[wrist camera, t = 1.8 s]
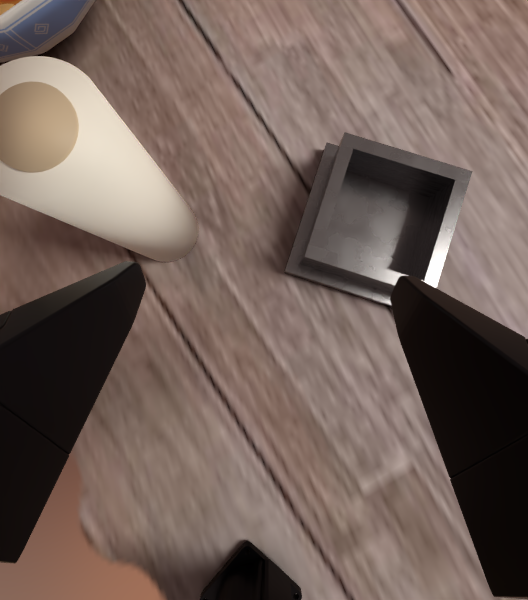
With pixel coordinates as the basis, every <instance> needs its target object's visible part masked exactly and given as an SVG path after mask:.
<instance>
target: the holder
mask: <svg viewBox="0 0 528 600" xmlns="http://www.w3.org/2000/svg"><path fill="white" fill-rule="evenodd" d="M471 174H472V171H469V170H466V169H463V168H460V167H456V166H453V165H450V164H447V163H443V162H440V161H437V160H433V159H430V158H427V157H424V156H420V155H417V154H414V153H411V152H407V151H404V150H401V149H398V148H394V147H391V146H388V145H384V144H381V143H378V142H375V141H371V140H368V139H365V138H362V137H358V136H355V135H352V134H349V133H344V135H343V138H342V140H341V142H340V144H339V146H337V145H334V144H330V143H326V146H325V149H324V152H323V155H322V158H321V161H320V164H319V167H318V170H317V173H316V177H315V180H314V183H313V186H312V189H311V192H310V195H309V198H308V201H307V204H306V207H305V210H304V213H303V217H302V220H301V223H300V226H299V229H298V232H297V235H296V238H295V241H294V244H293V247H292V250H291V253H290V257H289V260H288V263H287V266H286V269H285V272H284V273H287V274H290V275H293V276H296V277H299V278H302V279H306V280H309V281H312V282H315V283H318V284H321V285H324V286H327V287H330V288H333V289H337V290H340V291H343V292H346V293H349V294H352V295H355V296H358V297H361V298H365V299H368V300H371V301H374V302H377V303H380V304H383V305H386V306H389V307H392V306H391V302H390V296H391V293H392V291H393V289H394V287H395V284H396V282H397V280H398V278H399V277H400V276H415V277H416V278H418V279H420V280H422V281H424V282H426V283H427V284H429V285H431V286H433V287H435V288H436V287H437V284H438V281H439V278H440V274H441V271H442V268H443V265H444V261H445V258H446V255H447V252H448V248H449V245H450V242H451V239H452V235H453V232H454V229H455V226H456V222H457V219H458V216H459V213H460V209H461V206H462V203H463V200H464V196H465V193H466V190H467V187H468V183H469V180H470V177H471Z"/></svg>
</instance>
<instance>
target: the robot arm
mask: <svg viewBox="0 0 528 600" xmlns="http://www.w3.org/2000/svg"><path fill="white" fill-rule="evenodd" d="M145 288H146V282H145V278H144V275H143V273H142V270H141V267H140V265H139V263H137V262H127V261H126V262H123V263H120V264H118V265H116V266H113V267H111V268H109V269H106V270H104V271H102V272H99V273H97V274H95V275H92V276H90V277H88V278H85V279H83V280H81V281H78V282H76V283H74V284H71V285H69V286H67V287H64V288H62V289H60V290H57V291H55V292H53V293H50V294H48V295H46V296H43V297H41V298H39V299H36V300H34V301H32V302H29V303H27V304H25V305H22V306H20V307H18V308H15V309H13V310H12V311H8V312H6V313H3V314H1V315H0V562H4V563H16V562H17V560H18V559H19V557H20V555H21V553H22V551H23V550H24V548H25V546H26V543H27V541H28V539H29V537H30V535H31V533H32V531H33V529H34V527H35V525H36V523H37V521H38V519H39V517H40V515H41V513H42V510H43V509H44V506H45V504H46V502H47V500H48V498H49V496H50V494H51V492H52V490H53V488H54V486H55V484H56V482H57V480H58V478H59V475H60V474H61V472H62V469H63V467H64V465H65V463H66V461H67V459H68V457H69V454H70V453H71V451H72V448H73V446H74V444H75V442H76V440H77V438H78V436H79V434H80V432H81V430H82V428H83V426H84V424H85V422H86V420H87V418H88V416H89V414H90V411H91V409H92V407H93V405H94V403H95V401H96V399H97V397H98V395H99V393H100V391H101V389H102V387H103V385H104V383H105V381H106V379H107V376H108V374H109V372H110V370H111V368H112V366H113V364H114V362H115V360H116V358H117V356H118V354H119V352H120V350H121V348H122V346H123V344H124V341H125V339H126V337H127V335H128V333H129V331H130V329H131V327H132V325H133V322H134V320H135V317H136V314H137V311H138V308H139V306H140V303H141V300H142V297H143V294H144V291H145ZM390 302H391V306H392V310H393V315H394V319H395V324H396V328H397V332H398V336H399V339H400V342H401V345H402V348H403V351H404V353H405V356H406V359H407V362H408V364H409V367H410V370H411V373H412V375H413V378H414V381H415V384H416V386H417V389H418V392H419V395H420V397H421V400H422V403H423V406H424V408H425V411H426V414H427V417H428V419H429V422H430V425H431V428H432V430H433V433H434V436H435V439H436V442H437V444H438V447H439V450H440V453H441V455H442V458H443V461H444V464H445V466H446V469H447V472H448V475H449V477H450V478H451V479H450V481H451V483H452V486H453V489H454V492H455V494H456V497H457V500H458V503H459V505H460V508H461V511H462V514H463V516H464V519H465V522H466V525H467V527H468V530H469V533H470V536H471V538H472V541H473V544H474V547H475V549H476V552H477V555H478V558H479V560H480V563H481V566H482V569H483V571H484V574H485V577H486V580H487V582H488V585H489V587H490V590H491V592H492V594H493V596H494V597H504V598H518V599H528V339H525V337H524V336H522V335H520V334H518V333H516V332H515V331H513V330H511V329H509V328H507V327H505V326H504V325H502V324H500V323H498V322H496V321H495V320H493V319H491V318H489V317H487V316H485V315H484V314H482V313H480V312H478V311H476V310H475V309H473V308H471V307H469V306H467V305H466V304H464V303H462V302H460V301H458V300H456V299H455V298H453V297H451V296H449V295H447V294H446V293H444V292H442V291H440V290H438V289H436V288H435V287H433V286H431V285H429V284H427V283H426V282H424V281H422V280H420V279H418V278H416V277H415V276H400V277H399V278H398V280H397V282H396V284H395V287H394V289H393V291H392V293H391V296H390ZM246 549H249V551H247V550H246ZM295 593H297V594H295ZM205 598H206V599H205ZM301 599H302V593H301V588H300V587H299V586H298V585H297V584H296V583H295V582H294V581H292V580H291V579H290V577H289V576H288V575H286V574H285V573H284V572H283V571H282V570H281V569H280V568H279V567H278V566H277V565H275V564H274V563H273V562H272V561H271V560H270V559H268V558H267V557H266V556H265V555H264V554H263V553H262V552H261V551H260V550H259V549H257V548H256V547H255V546H254V545H253V544H252V543H250V542H245V543H244V544H243V545H242V546H241V547H240V548H239V550H238V551H237V552H236V553H235V554H234V555H233V557H232V558H231V559H230V560H229V561H228V562H227V564H226V565H225V566H224V567H223V568H222V569H221V571H220V572H219V573H218V574H217V575H216V576H215V578H214V579H213V580H212V581H211V582H210V583H209V585H208V586H207V587H206V588H205V589H204V590H203V592H202V593H201V596H200V600H301Z"/></svg>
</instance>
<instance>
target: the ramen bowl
mask: <svg viewBox="0 0 528 600" xmlns="http://www.w3.org/2000/svg"><path fill="white" fill-rule="evenodd" d="M94 2H95V0H0V62H7V61H11V60H15V59H19V58H23V57H29V56H33V55H38V54H42V53H44V52H47V51H48V50H49V49H51V48H52V47H54V46H55V45H57V44H58V43H59V42H61V41H62V40H64V39H65V38H67V37H68V36H69V35H71V34H72V33H74V31H75V30H76V28H77V27H78V25H79V24H80V22H81V21H82V20H83V18H84V17H85V15H86V14H87V12H88V11H89V9H90V8H91V6H92V5H93V3H94Z"/></svg>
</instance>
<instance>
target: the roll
mask: <svg viewBox="0 0 528 600" xmlns="http://www.w3.org/2000/svg"><path fill="white" fill-rule="evenodd" d="M0 195H1V196H3V197H6V198H8V199H10V200H13V201H15V202H18V203H20V204H22V205H25V206H27V207H29V208H32V209H34V210H37V211H39V212H41V213H44V214H46V215H48V216H51V217H53V218H56V219H58V220H60V221H63V222H65V223H67V224H70V225H72V226H75V227H77V228H79V229H82V230H84V231H86V232H89V233H91V234H94V235H96V236H98V237H101V238H103V239H106V240H108V241H110V242H113V243H115V244H117V245H120V246H122V247H125V248H127V249H129V250H132V251H134V252H136V253H139V254H141V255H144V256H146V257H148V258H151V259H153V260H156V261H159V262H173V261H176V260H179V259H181V258H183V257H184V256H186V255H187V254H188V253H189V252H190V251H191V250H192V249H193V247H194V245H195V244H196V241H197V238H198V233H199V226H198V221H197V218H196V216H195V214H194V212H193V211H192V209H191V208H190V207H189V206H188V204H187V203H186V202H185V200H184V199H183V198H182V197H181V195H180V194H179V193H178V191H177V190H176V189H175V188H174V186H173V185H172V184H171V182H170V181H169V180H168V179H167V177H166V176H165V175H164V173H163V172H162V171H161V169H160V168H159V167H158V166H157V164H156V163H155V162H154V160H153V159H152V158H151V157H150V155H149V154H148V153H147V151H146V150H145V149H144V148H143V146H142V145H141V144H140V142H139V141H138V140H137V138H136V137H135V136H134V135H133V133H132V132H131V131H130V129H129V128H128V127H127V126H126V124H125V123H124V122H123V120H122V119H121V118H120V117H119V115H118V114H117V113H116V111H115V110H114V109H113V107H112V106H111V105H110V104H109V102H108V101H107V100H106V98H105V97H104V96H103V95H102V93H101V92H100V91H99V89H98V88H97V87H96V86H95V84H94V83H93V82H92V80H91V79H90V78H89V77H88V76H87V75H86V74H85V73H83V72H82V71H81V70H79V69H78V68H77V67H75V66H73V65H71V64H70V63H68V62H65V61H62V60H60V59H56V58H52V57H45V56H30V57H23V58H19V59H15V60H12V61H10V62H7V63H5V64H3V65H1V66H0Z"/></svg>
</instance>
